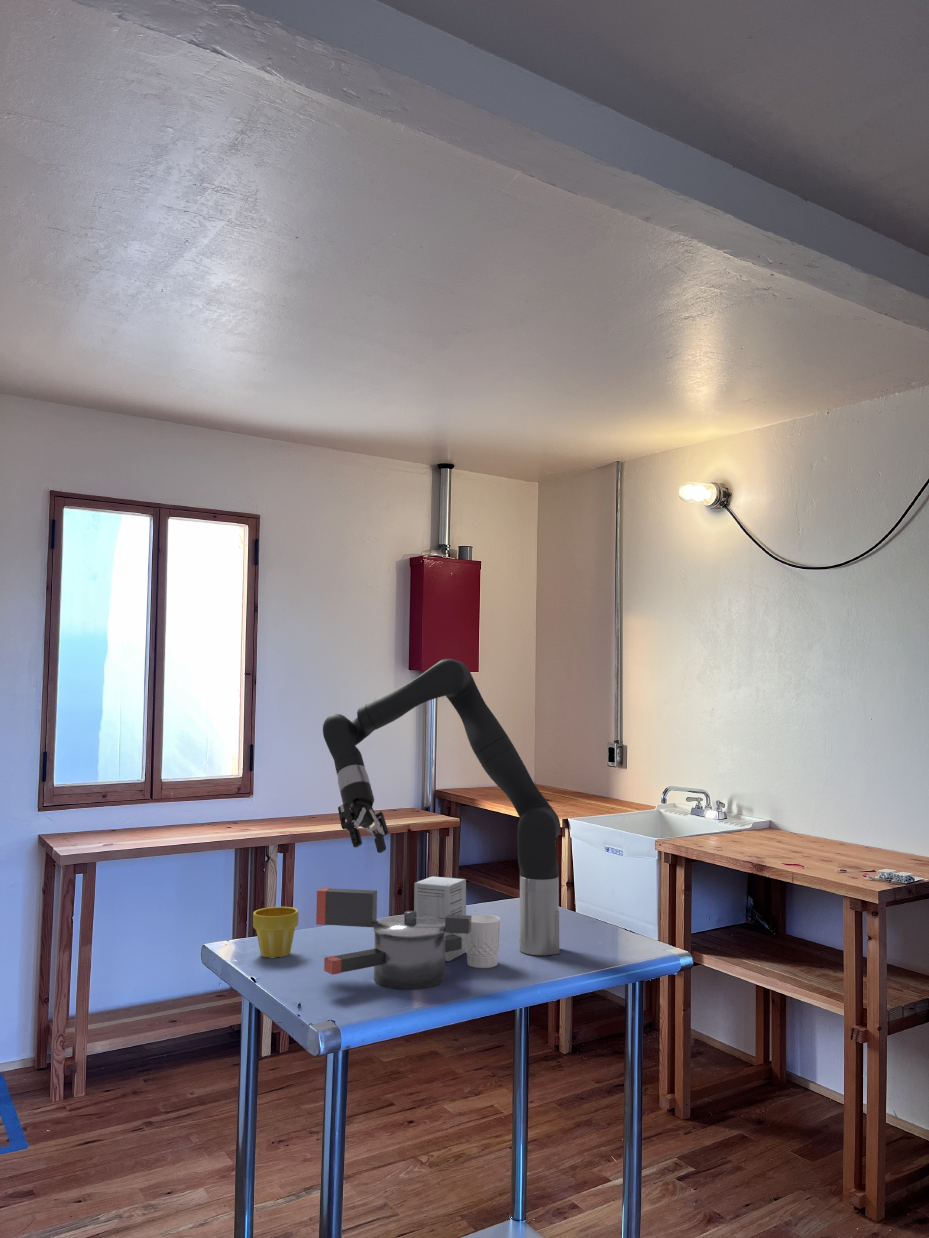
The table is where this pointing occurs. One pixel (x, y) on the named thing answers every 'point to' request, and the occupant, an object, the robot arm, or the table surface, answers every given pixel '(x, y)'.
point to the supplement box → (442, 903)
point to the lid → (362, 912)
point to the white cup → (483, 941)
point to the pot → (400, 961)
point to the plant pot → (275, 930)
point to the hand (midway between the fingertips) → (370, 848)
